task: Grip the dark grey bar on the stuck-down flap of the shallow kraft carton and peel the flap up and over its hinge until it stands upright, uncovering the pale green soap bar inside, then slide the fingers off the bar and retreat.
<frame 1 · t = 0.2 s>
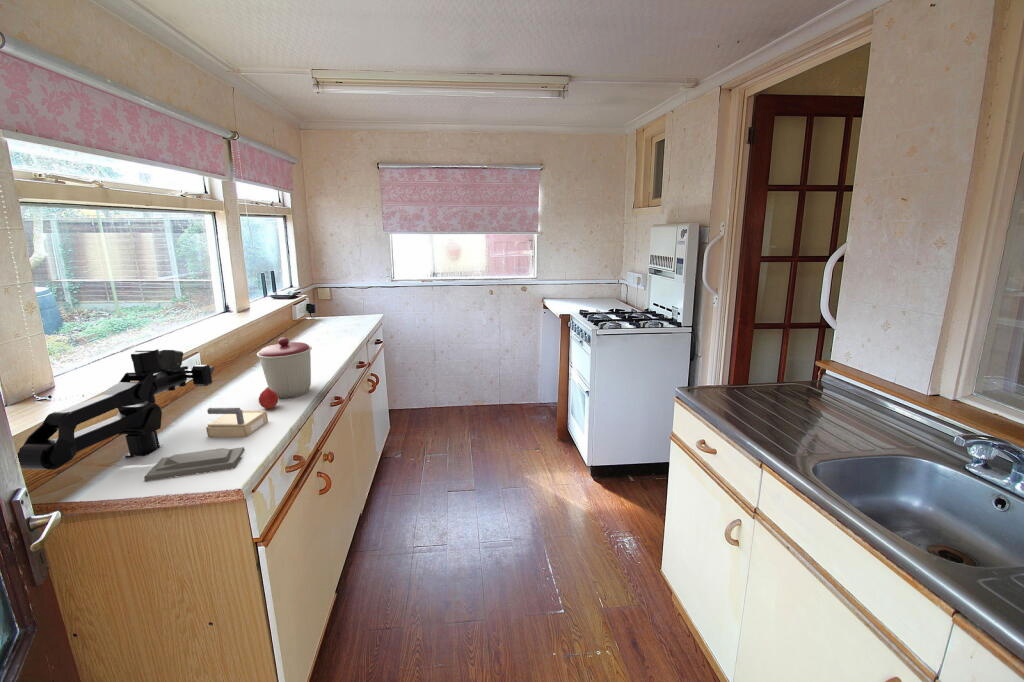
hand: (200, 367, 155), 17 cm above the counter, tool horizontal, fingers open, 9 cm apart
soap mold: (198, 468, 126), on the counter
soap bar: (235, 428, 147), point 1 cm above the counter, touching carton
carton: (239, 430, 147), on the counter
flap: (236, 410, 146), point 6 cm above the counter, hinge at 0.0°
canister: (291, 393, 178), on the counter
onion: (270, 410, 163), on the counter
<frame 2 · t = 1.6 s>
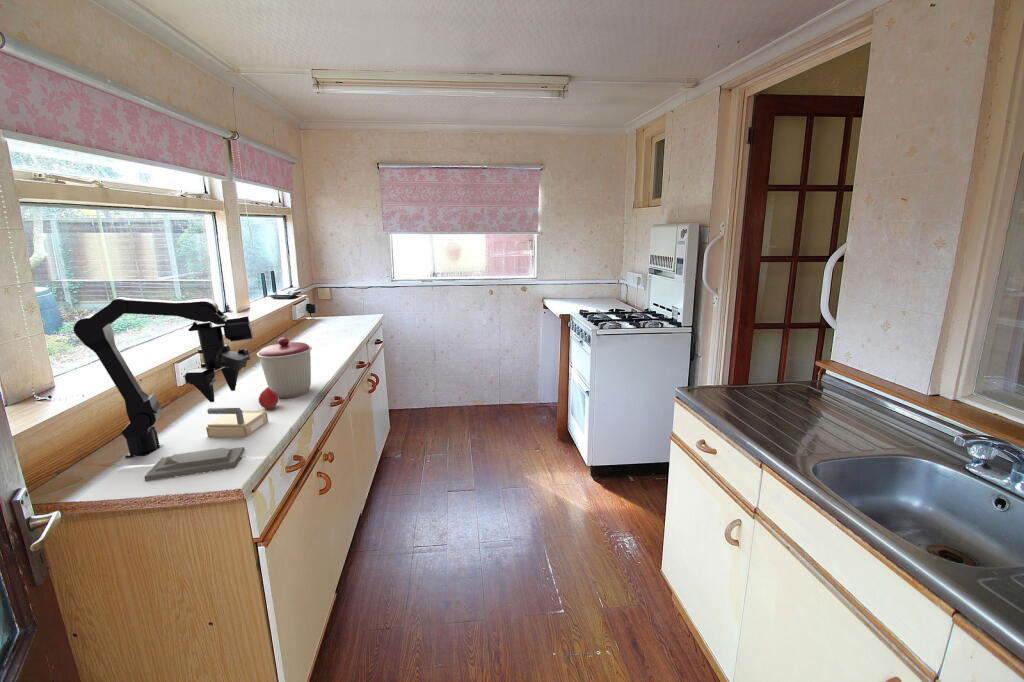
hand: (223, 396, 140), 12 cm above the counter, tool pointing down, fingers open, 9 cm apart
nothing on the counter moved.
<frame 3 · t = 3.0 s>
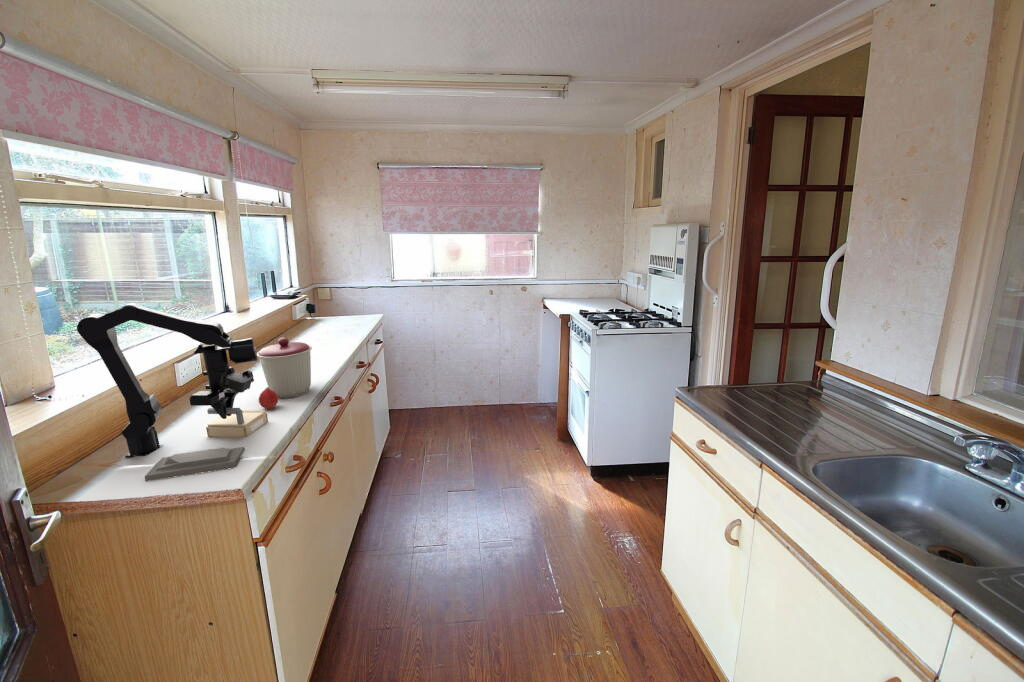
hand: (226, 417, 141), 6 cm above the counter, tool pointing down, fingers closed on flap, 2 cm apart
flap: (236, 410, 146), point 6 cm above the counter, hinge at 0.0°, touching gripper
everything else where it was.
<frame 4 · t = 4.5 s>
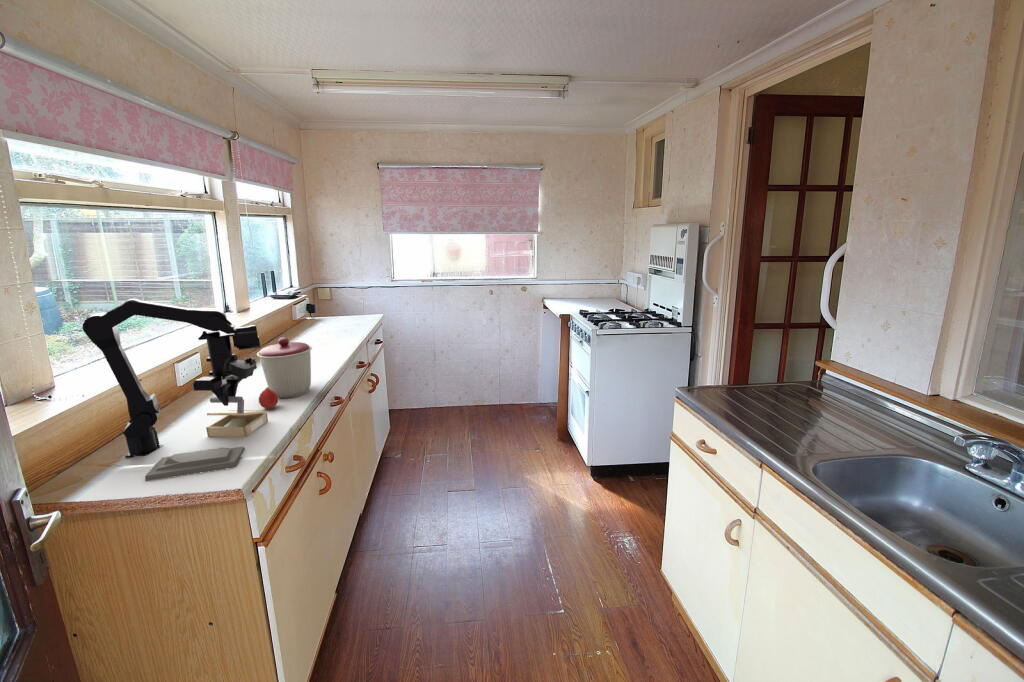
hand: (229, 404, 143), 9 cm above the counter, tool pointing down, fingers closed
flap: (237, 404, 146), point 8 cm above the counter, hinge at 18.3°, touching gripper
everything else where it was.
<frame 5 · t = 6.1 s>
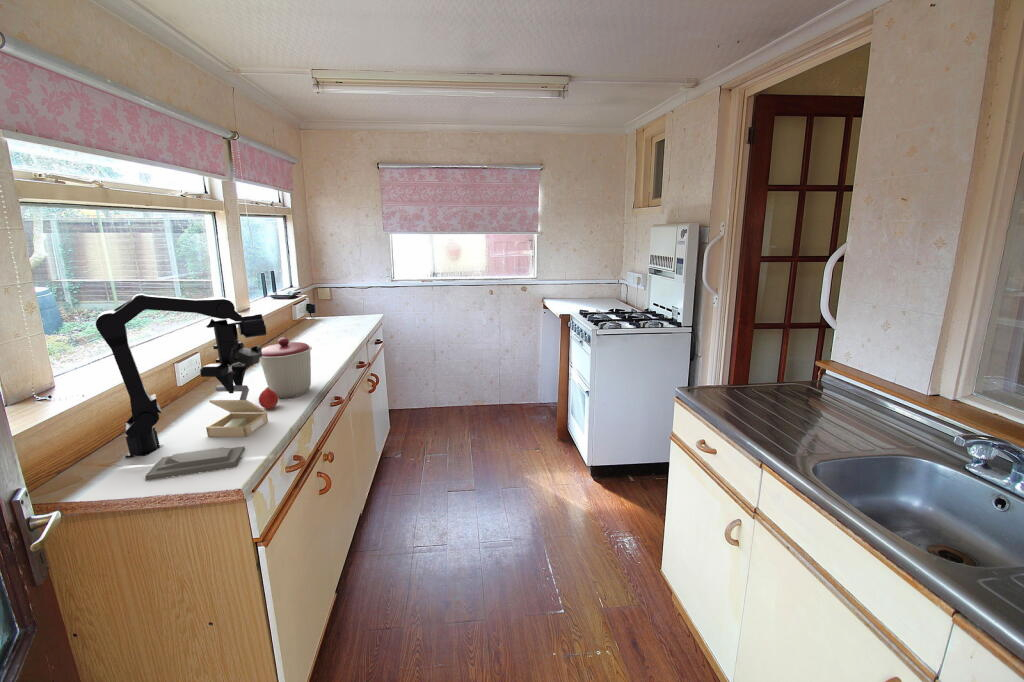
hand: (235, 391, 145), 12 cm above the counter, tool pointing down, fingers open, 3 cm apart
flap: (240, 398, 148), point 9 cm above the counter, hinge at 39.5°, touching gripper
everything else where it was.
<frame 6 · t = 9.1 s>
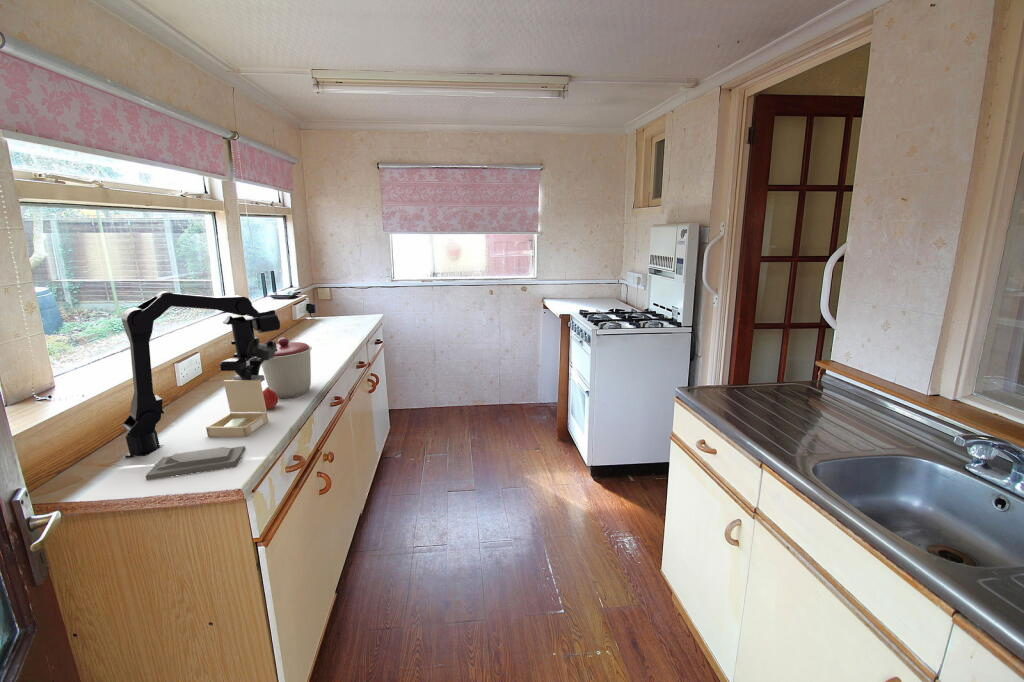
hand: (252, 384, 153), 11 cm above the counter, tool pointing down, fingers open, 3 cm apart
flap: (249, 393, 152), point 9 cm above the counter, hinge at 87.7°
everything else where it was.
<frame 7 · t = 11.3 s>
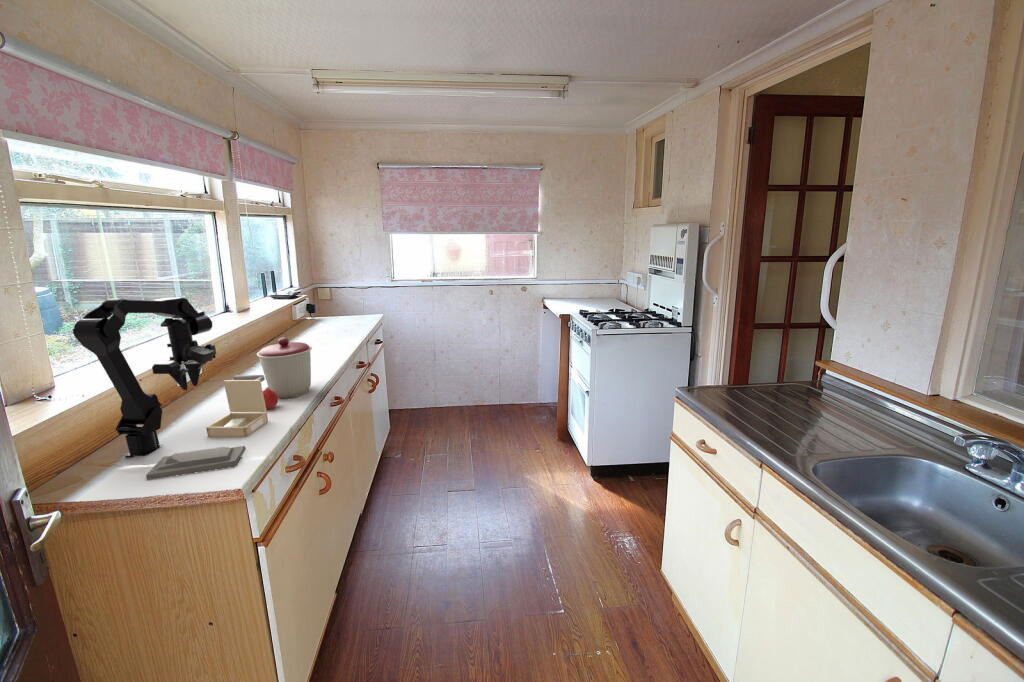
hand: (190, 387, 150), 12 cm above the counter, tool pointing down, fingers open, 4 cm apart
nothing on the counter moved.
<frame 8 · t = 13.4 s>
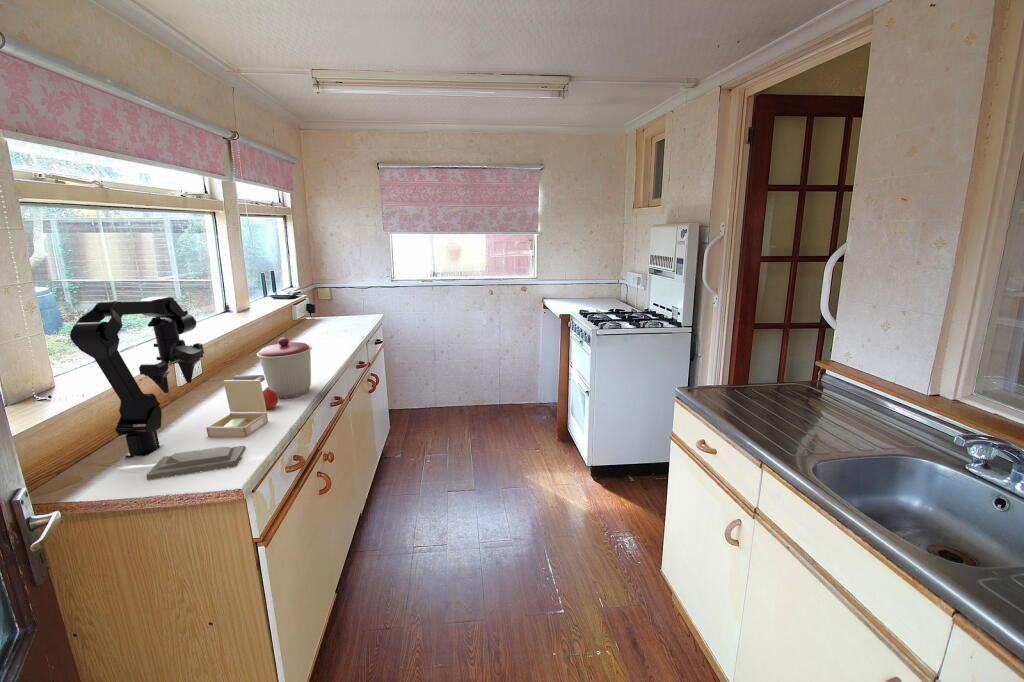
hand: (178, 387, 149), 13 cm above the counter, tool pointing down, fingers open, 9 cm apart
nothing on the counter moved.
at the end: flap at +88° (first picture: +0°); the gripper is holding nothing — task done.
